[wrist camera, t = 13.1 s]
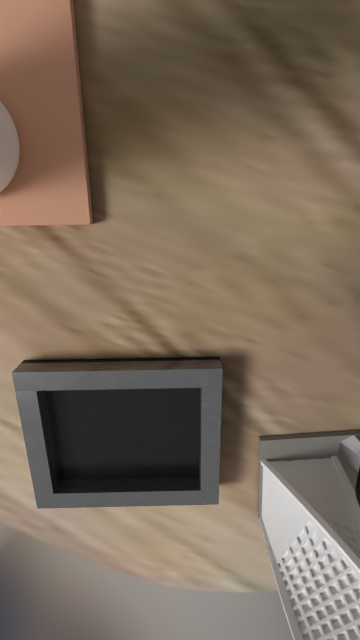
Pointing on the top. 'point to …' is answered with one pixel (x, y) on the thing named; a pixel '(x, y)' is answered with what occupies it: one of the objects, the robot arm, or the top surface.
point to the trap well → (122, 430)
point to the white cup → (8, 148)
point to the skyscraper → (313, 530)
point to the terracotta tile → (44, 114)
